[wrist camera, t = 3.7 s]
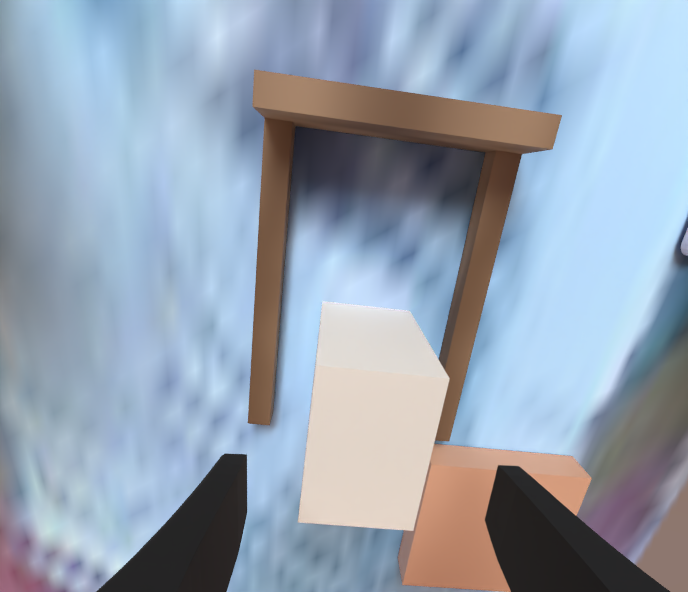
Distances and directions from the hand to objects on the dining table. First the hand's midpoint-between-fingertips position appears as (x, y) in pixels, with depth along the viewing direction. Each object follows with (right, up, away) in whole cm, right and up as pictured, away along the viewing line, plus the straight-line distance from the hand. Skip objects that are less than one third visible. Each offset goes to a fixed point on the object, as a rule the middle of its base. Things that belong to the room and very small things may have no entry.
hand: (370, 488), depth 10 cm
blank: (0, +2, +7) cm, 7 cm away
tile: (+7, -6, +10) cm, 13 cm away
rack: (0, +6, +6) cm, 8 cm away
